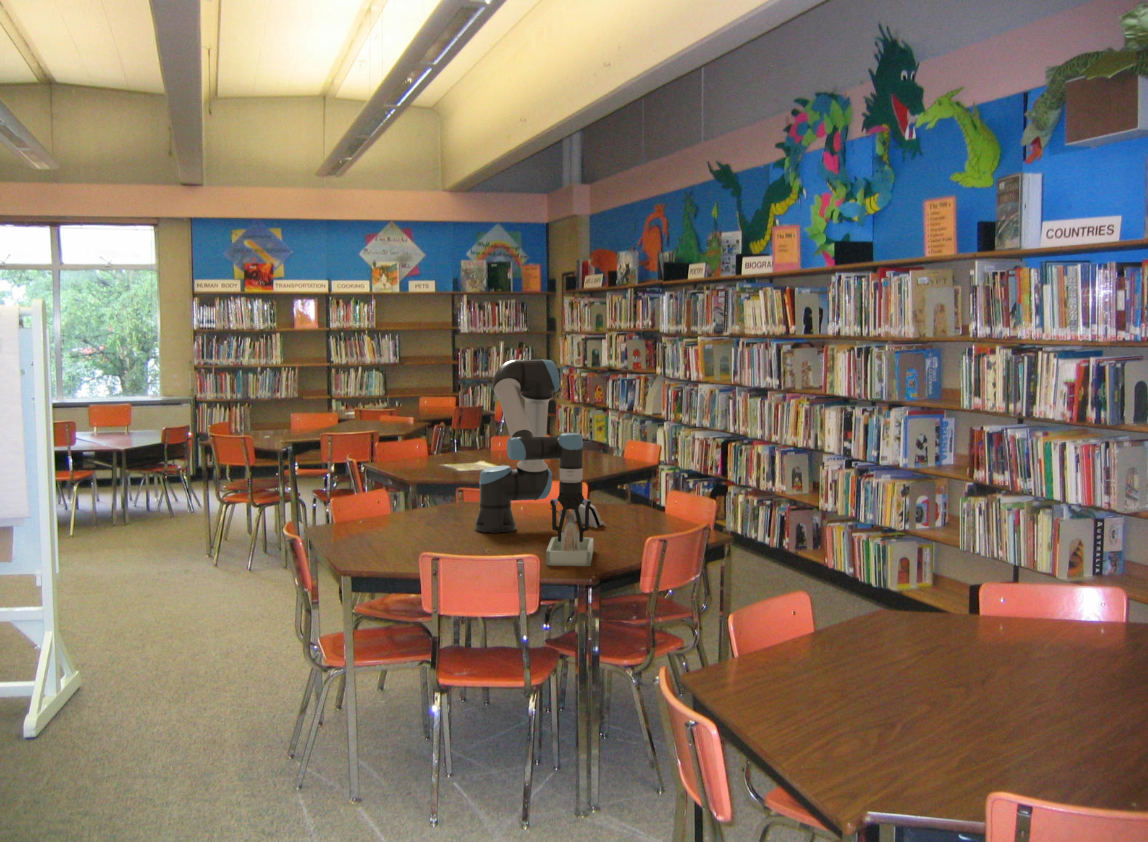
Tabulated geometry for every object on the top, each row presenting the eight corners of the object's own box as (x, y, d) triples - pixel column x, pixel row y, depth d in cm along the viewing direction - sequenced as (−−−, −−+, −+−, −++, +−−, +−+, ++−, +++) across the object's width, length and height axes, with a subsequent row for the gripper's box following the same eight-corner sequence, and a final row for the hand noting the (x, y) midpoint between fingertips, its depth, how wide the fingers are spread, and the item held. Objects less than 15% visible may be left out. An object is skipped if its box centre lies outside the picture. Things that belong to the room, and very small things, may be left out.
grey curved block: (606, 526, 369) (599, 503, 367) (596, 532, 367) (588, 508, 365) (584, 519, 384) (577, 496, 381) (574, 524, 382) (567, 501, 379)
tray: (546, 565, 307) (546, 551, 307) (551, 550, 329) (552, 536, 329) (590, 566, 306) (590, 552, 306) (593, 550, 328) (593, 537, 328)
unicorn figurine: (571, 544, 328) (570, 505, 327) (588, 556, 310) (586, 515, 309) (551, 547, 326) (549, 507, 325) (566, 559, 308) (564, 517, 307)
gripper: (542, 482, 312) (542, 553, 314) (597, 483, 311) (596, 554, 313) (545, 478, 320) (544, 548, 322) (598, 479, 319) (597, 549, 321)
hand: (570, 551), depth 318 cm, fingers closed on unicorn figurine, 4 cm apart
